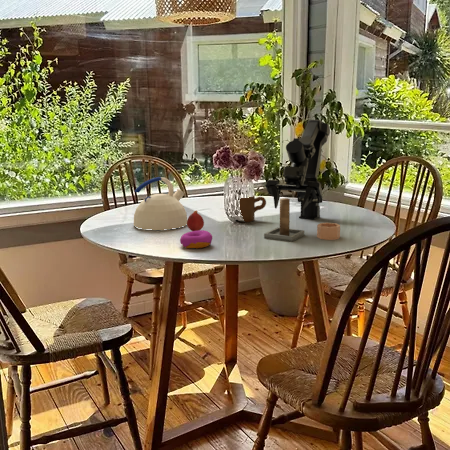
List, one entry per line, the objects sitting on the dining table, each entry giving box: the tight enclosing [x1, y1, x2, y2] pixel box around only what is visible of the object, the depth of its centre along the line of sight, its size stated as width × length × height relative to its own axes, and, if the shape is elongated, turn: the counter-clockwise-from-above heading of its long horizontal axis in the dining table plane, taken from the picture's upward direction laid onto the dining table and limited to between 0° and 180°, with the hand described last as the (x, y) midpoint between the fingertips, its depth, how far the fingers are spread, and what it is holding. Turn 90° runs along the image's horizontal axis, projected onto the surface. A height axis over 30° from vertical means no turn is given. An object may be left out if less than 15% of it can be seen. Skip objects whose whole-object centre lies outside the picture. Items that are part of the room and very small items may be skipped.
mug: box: [240, 195, 267, 223], centre depth 200 cm, size 12×8×9 cm, turn 90°
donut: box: [179, 229, 213, 249], centre depth 166 cm, size 10×10×4 cm
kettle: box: [133, 176, 188, 230], centre depth 194 cm, size 20×21×18 cm
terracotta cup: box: [316, 222, 341, 241], centre depth 172 cm, size 7×7×4 cm
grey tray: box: [263, 227, 305, 243], centre depth 174 cm, size 10×10×2 cm
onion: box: [187, 210, 205, 232], centre depth 182 cm, size 6×6×8 cm
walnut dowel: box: [279, 197, 291, 236], centre depth 172 cm, size 3×3×12 cm
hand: (288, 208), depth 176 cm, fingers open, 9 cm apart
